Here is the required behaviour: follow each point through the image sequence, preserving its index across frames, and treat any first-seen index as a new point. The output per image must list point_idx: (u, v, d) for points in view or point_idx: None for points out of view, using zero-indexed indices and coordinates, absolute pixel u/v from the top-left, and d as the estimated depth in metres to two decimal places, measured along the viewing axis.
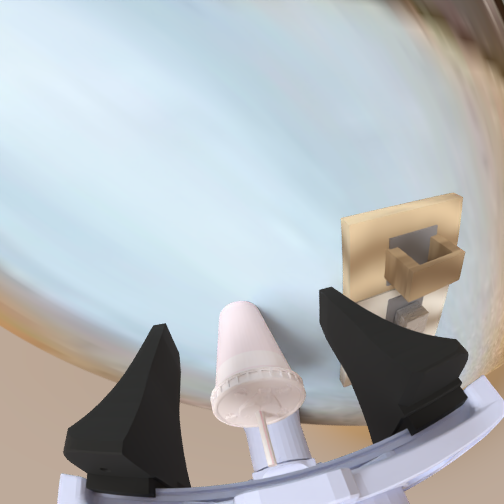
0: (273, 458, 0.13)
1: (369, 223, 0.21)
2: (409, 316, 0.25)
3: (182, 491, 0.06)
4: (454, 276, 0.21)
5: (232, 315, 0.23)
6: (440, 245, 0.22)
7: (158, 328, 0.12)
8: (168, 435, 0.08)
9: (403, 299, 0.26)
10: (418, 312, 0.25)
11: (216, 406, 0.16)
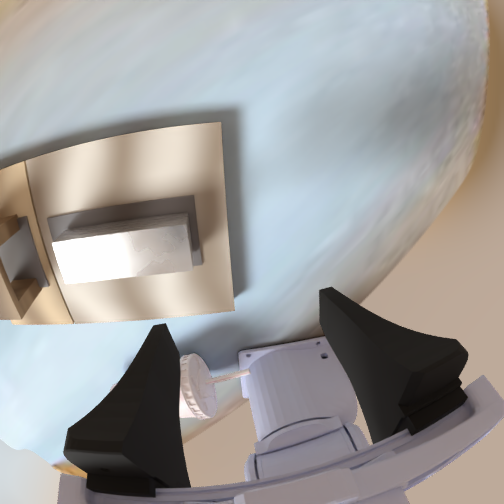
0: (244, 372, 0.24)
1: None
2: None
3: (182, 491, 0.06)
4: None
5: None
6: None
7: (158, 328, 0.12)
8: (168, 435, 0.08)
9: None
10: None
11: (215, 411, 0.23)
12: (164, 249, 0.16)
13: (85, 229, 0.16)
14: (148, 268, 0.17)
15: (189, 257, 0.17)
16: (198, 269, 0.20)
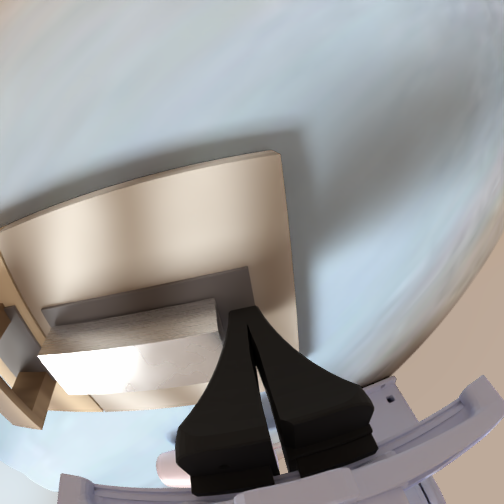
0: None
1: None
2: None
3: (182, 491, 0.06)
4: None
5: (186, 487, 0.17)
6: None
7: (238, 312, 0.12)
8: None
9: None
10: None
11: None
12: (190, 361, 0.11)
13: (75, 332, 0.11)
14: (172, 381, 0.11)
15: None
16: None
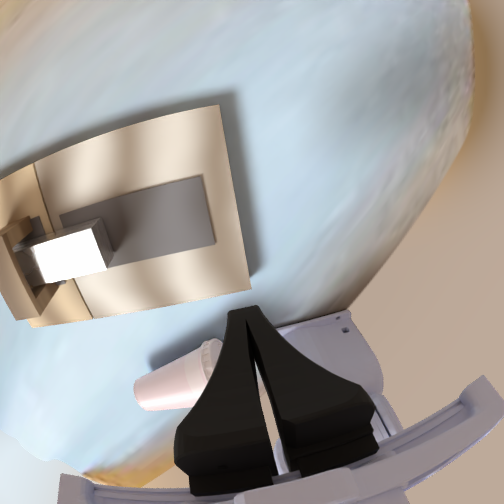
0: None
1: None
2: None
3: (182, 491, 0.06)
4: (1, 249, 0.13)
5: (158, 407, 0.23)
6: None
7: (237, 312, 0.12)
8: None
9: None
10: None
11: None
12: (79, 253, 0.16)
13: (27, 243, 0.16)
14: (72, 271, 0.17)
15: (100, 257, 0.17)
16: (211, 249, 0.21)
